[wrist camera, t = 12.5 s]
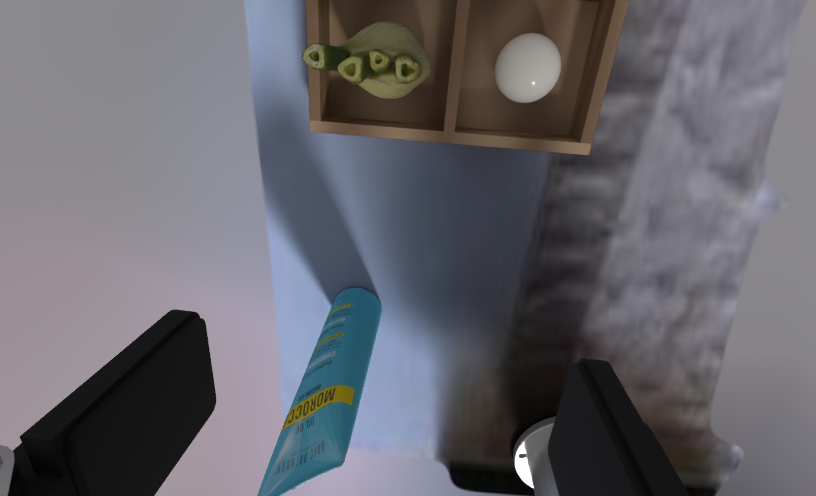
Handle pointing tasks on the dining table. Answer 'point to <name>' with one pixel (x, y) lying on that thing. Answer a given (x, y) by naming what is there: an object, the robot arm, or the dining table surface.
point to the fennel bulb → (376, 59)
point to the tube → (326, 396)
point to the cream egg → (527, 67)
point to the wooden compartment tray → (471, 72)
